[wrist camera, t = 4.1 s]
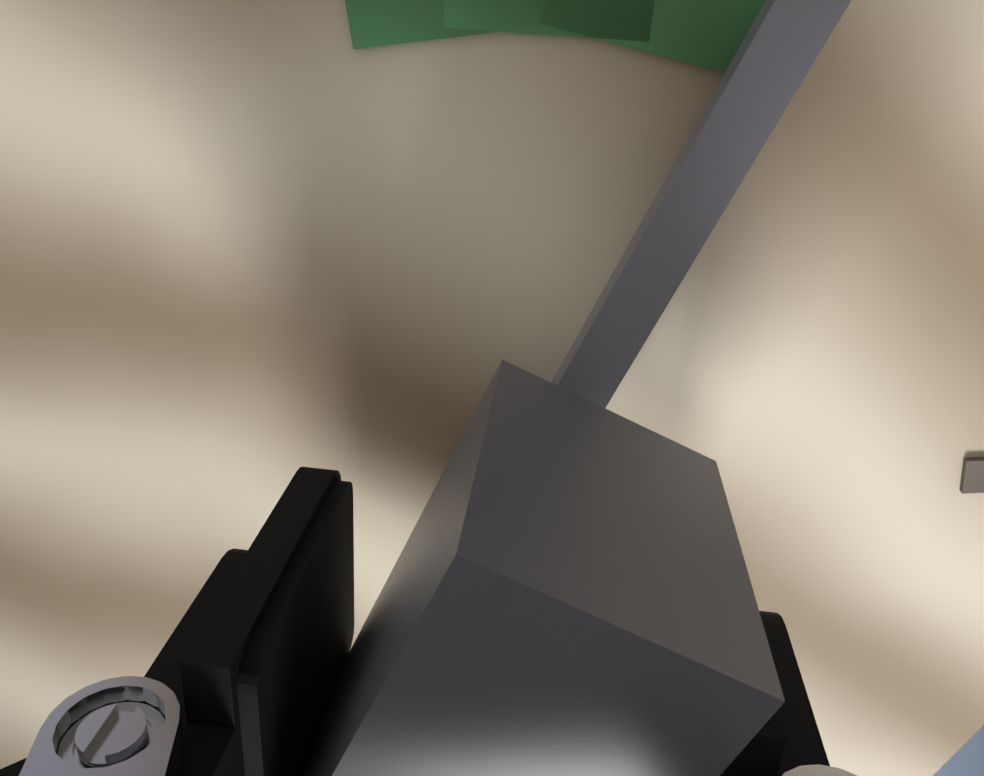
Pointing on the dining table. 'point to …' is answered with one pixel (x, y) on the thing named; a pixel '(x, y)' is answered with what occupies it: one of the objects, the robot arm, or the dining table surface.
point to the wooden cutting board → (485, 310)
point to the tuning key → (584, 532)
